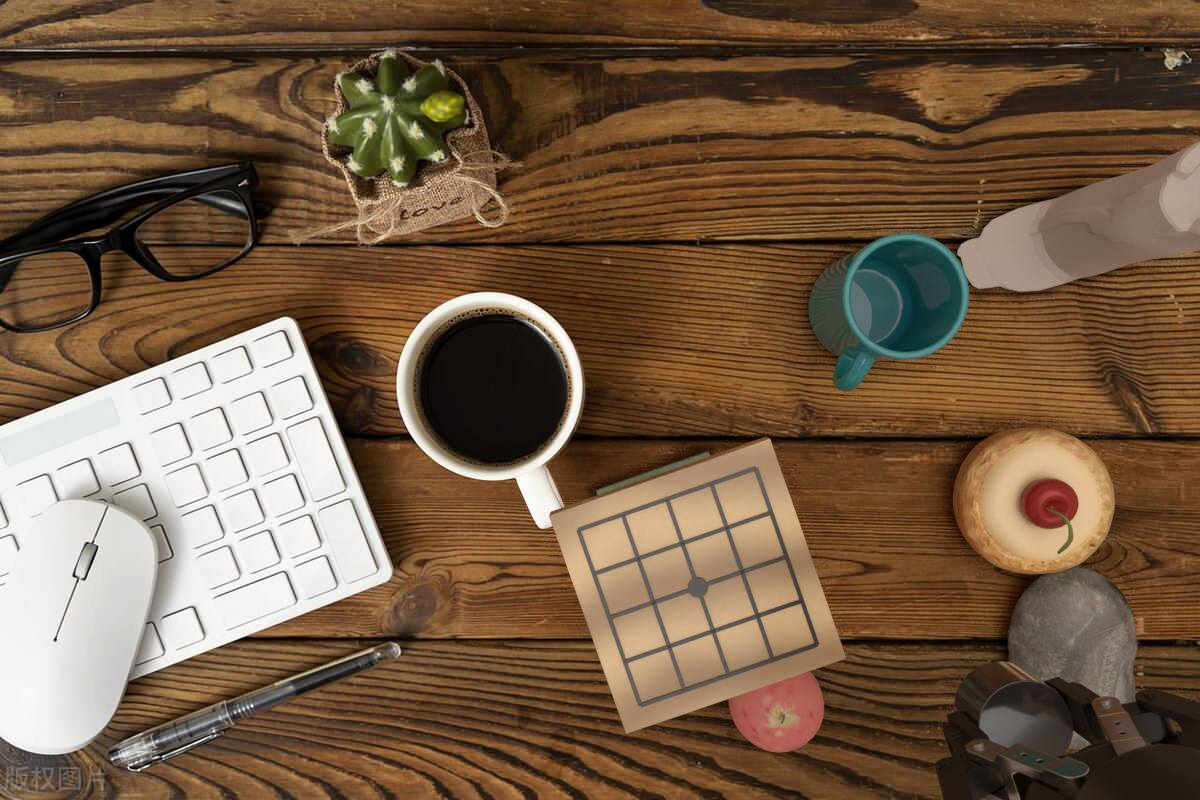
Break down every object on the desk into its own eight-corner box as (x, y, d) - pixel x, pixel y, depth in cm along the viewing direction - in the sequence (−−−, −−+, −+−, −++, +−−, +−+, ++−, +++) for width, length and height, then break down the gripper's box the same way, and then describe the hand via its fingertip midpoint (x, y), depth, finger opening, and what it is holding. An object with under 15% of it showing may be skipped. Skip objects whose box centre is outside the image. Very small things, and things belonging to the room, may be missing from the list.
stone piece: (1055, 733, 46) (1087, 757, 43) (970, 761, 46) (995, 788, 43) (1027, 648, 46) (1056, 667, 43) (941, 677, 46) (964, 698, 43)
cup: (773, 366, 72) (804, 365, 61) (834, 237, 72) (876, 211, 61) (870, 411, 72) (918, 418, 61) (931, 282, 72) (991, 264, 61)
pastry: (1062, 408, 72) (1126, 412, 63) (1098, 542, 72) (1167, 565, 63) (924, 446, 72) (969, 456, 63) (960, 580, 73) (1010, 608, 64)
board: (776, 575, 73) (847, 659, 51) (620, 629, 73) (626, 735, 51) (722, 420, 72) (770, 438, 51) (566, 474, 73) (548, 515, 51)
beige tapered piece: (949, 228, 72) (1081, 170, 52) (1109, 181, 72) (1304, 105, 52) (972, 310, 72) (1113, 284, 52) (1132, 264, 72) (1335, 220, 52)
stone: (1002, 559, 72) (990, 723, 75) (1019, 577, 68) (1006, 749, 71) (1140, 563, 71) (1123, 730, 73) (1166, 582, 67) (1147, 757, 69)
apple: (756, 744, 73) (775, 789, 65) (706, 674, 73) (718, 711, 65) (827, 693, 73) (854, 732, 65) (776, 624, 73) (797, 654, 65)
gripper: (1076, 1088, 28) (900, 822, 45) (1495, 949, 28) (1159, 734, 45) (1003, 875, 28) (854, 689, 45) (1422, 734, 28) (1113, 600, 45)
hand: (1007, 712), depth 45 cm, fingers closed on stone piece, 4 cm apart
